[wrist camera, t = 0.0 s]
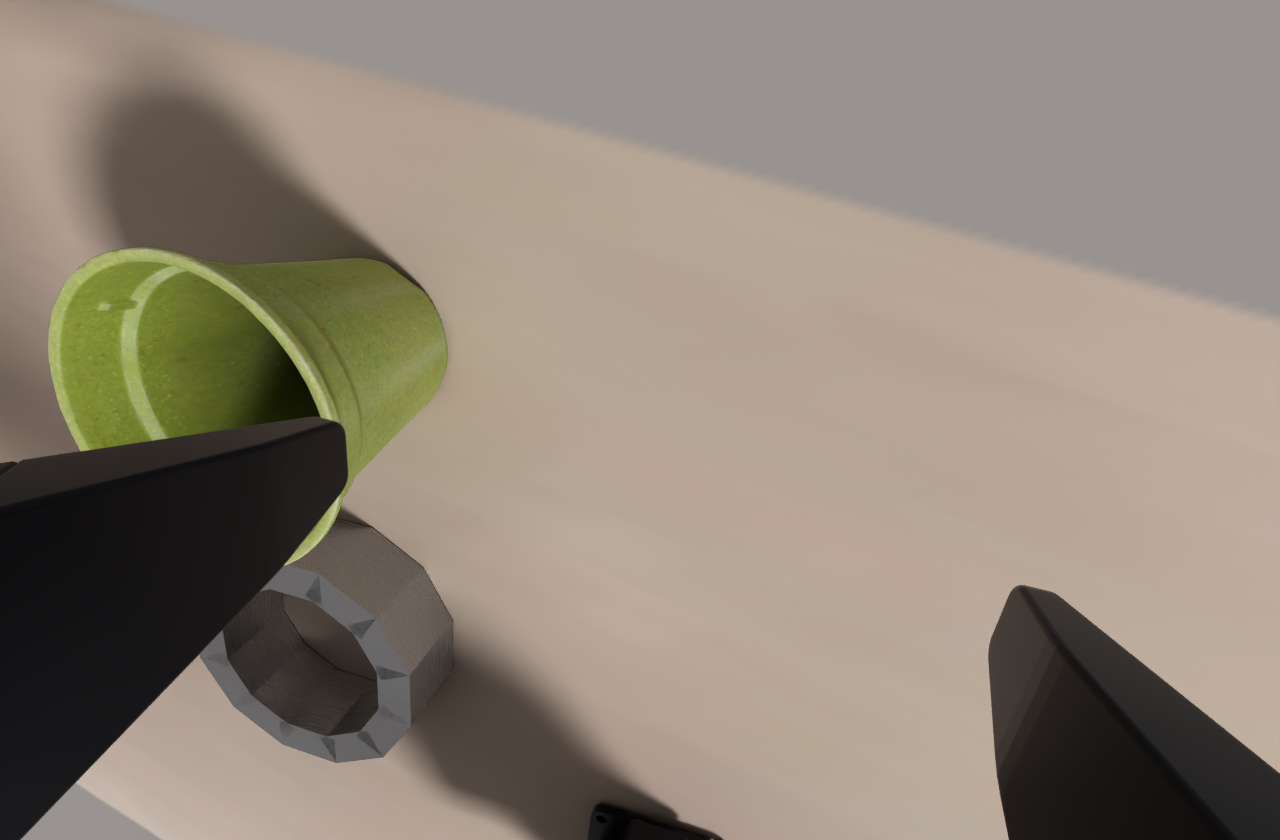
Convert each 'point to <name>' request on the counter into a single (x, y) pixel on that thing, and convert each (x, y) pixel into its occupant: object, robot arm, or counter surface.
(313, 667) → the ring mount
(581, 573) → the counter surface
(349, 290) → the plant pot
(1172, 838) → the robot arm
